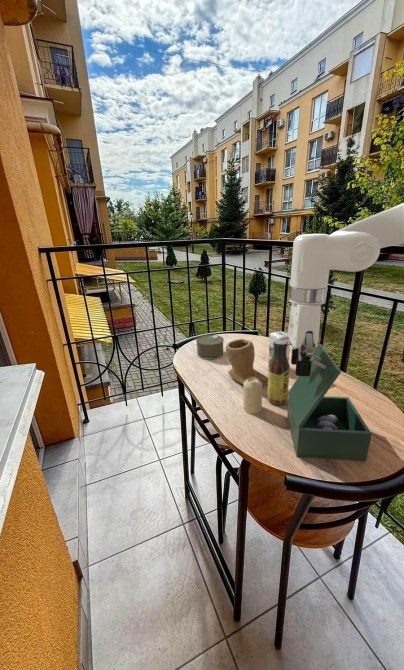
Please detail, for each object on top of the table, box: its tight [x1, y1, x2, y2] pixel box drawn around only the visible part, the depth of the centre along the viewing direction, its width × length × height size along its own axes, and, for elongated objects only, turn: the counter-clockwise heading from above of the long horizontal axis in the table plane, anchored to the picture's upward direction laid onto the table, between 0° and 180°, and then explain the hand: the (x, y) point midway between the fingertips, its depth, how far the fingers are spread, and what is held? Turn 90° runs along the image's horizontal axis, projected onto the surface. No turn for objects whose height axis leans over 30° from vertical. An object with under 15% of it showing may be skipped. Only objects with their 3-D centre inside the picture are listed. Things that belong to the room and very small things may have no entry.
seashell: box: [315, 415, 338, 430], centre depth 72 cm, size 5×5×10 cm
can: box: [195, 334, 224, 359], centre depth 124 cm, size 12×12×7 cm
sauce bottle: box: [267, 340, 291, 406], centre depth 86 cm, size 7×6×20 cm
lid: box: [288, 343, 342, 429], centre depth 68 cm, size 16×15×5 cm
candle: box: [242, 377, 263, 414], centre depth 84 cm, size 6×6×10 cm
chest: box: [286, 395, 372, 462], centre depth 71 cm, size 16×15×8 cm
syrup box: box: [267, 330, 291, 368], centre depth 107 cm, size 6×6×14 cm
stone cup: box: [225, 338, 268, 387], centre depth 99 cm, size 15×12×15 cm
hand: (300, 368), depth 67 cm, fingers closed on lid, 5 cm apart
